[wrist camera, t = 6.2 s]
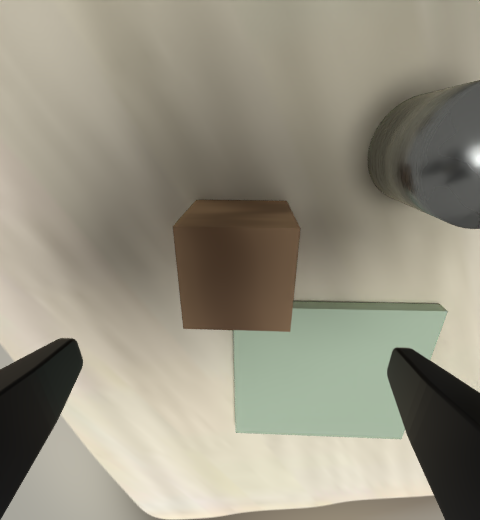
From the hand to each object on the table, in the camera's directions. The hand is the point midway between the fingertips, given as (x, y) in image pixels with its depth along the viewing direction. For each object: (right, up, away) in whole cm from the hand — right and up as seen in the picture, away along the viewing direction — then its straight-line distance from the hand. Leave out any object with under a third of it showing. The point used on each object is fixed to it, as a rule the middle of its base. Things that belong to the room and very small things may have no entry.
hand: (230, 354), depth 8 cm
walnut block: (0, +4, +8) cm, 9 cm away
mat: (+6, -6, +12) cm, 15 cm away
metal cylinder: (+9, +8, +6) cm, 14 cm away
